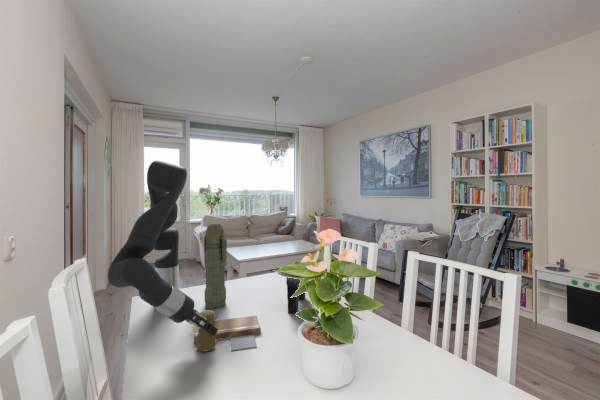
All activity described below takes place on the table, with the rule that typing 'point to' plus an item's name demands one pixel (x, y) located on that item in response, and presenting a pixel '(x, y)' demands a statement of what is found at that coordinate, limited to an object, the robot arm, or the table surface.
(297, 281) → the ceramic cat
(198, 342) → the olive game pawn
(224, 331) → the walnut board
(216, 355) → the table surface
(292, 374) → the table surface
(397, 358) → the table surface
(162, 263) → the robot arm
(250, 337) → the slate end mark
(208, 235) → the thermos
